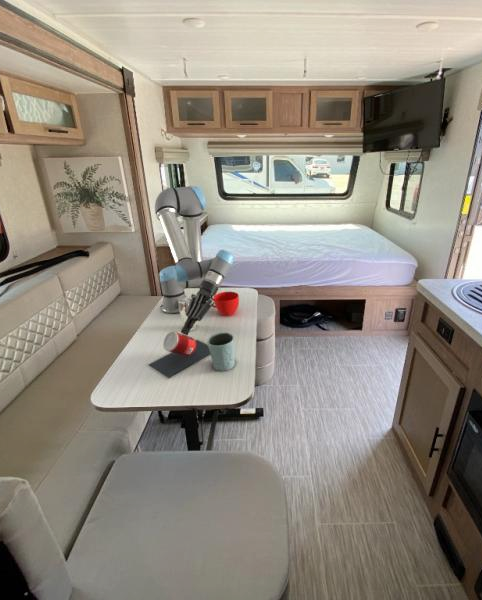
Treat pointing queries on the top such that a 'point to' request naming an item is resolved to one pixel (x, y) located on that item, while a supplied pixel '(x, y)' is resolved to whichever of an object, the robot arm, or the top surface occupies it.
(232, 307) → the ceramic cup
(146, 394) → the top surface
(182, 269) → the robot arm
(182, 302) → the beer glass
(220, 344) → the pale teal tumbler
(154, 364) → the mat
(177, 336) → the canned food
